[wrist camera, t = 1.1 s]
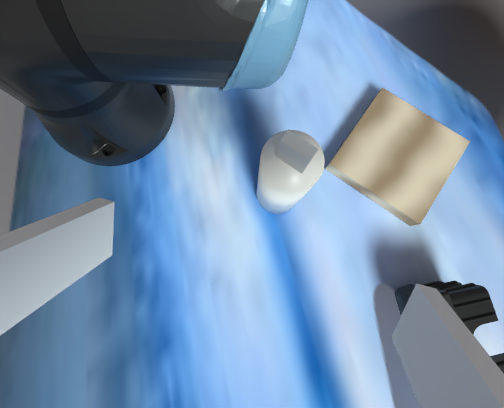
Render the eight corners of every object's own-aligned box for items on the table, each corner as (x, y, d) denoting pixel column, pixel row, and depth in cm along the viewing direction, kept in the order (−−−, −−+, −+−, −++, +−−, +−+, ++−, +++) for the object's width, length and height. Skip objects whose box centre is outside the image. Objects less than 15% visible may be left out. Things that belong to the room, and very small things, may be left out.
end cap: (380, 289, 31) (416, 298, 24) (439, 275, 31) (490, 281, 25) (407, 383, 29) (453, 421, 23) (469, 368, 30) (533, 401, 23)
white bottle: (248, 198, 33) (247, 152, 18) (272, 166, 34) (289, 97, 19) (282, 222, 32) (310, 196, 18) (305, 189, 33) (350, 137, 18)
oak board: (324, 169, 34) (329, 163, 32) (375, 96, 35) (382, 87, 33) (409, 225, 32) (420, 224, 30) (457, 148, 34) (469, 141, 32)
